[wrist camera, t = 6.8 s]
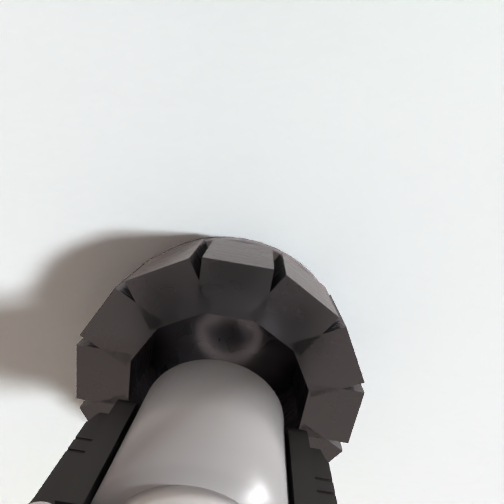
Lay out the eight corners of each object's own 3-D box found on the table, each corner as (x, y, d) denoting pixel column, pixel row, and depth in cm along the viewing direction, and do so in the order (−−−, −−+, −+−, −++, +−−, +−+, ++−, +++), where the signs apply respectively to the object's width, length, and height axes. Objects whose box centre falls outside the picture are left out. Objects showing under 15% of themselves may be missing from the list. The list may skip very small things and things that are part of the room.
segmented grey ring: (122, 217, 15) (77, 235, 11) (365, 259, 15) (397, 290, 12) (113, 414, 18) (76, 477, 15) (312, 447, 19) (323, 517, 15)
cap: (144, 350, 11) (70, 466, 7) (294, 369, 11) (311, 498, 7) (142, 464, 13) (79, 616, 9) (273, 481, 13) (277, 643, 9)
